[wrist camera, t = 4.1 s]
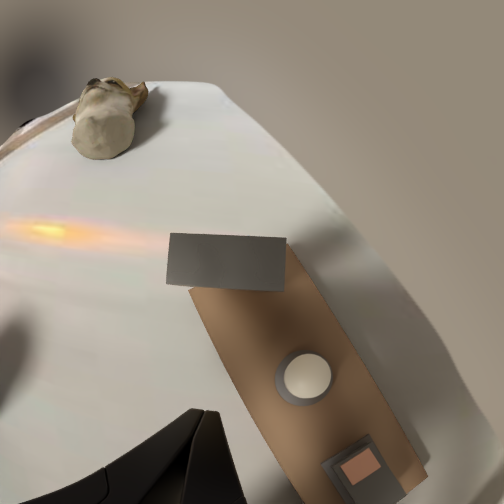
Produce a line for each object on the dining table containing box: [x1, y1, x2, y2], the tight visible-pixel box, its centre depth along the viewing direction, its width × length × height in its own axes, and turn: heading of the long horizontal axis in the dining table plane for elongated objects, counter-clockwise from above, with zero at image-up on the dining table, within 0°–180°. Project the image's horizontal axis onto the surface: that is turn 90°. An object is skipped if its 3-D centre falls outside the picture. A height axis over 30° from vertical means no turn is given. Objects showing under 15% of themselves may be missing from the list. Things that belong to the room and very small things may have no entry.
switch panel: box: [188, 243, 428, 504], centre depth 17 cm, size 8×21×2 cm, turn 27°
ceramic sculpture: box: [71, 77, 148, 160], centre depth 29 cm, size 11×9×15 cm
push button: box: [284, 354, 331, 398], centre depth 16 cm, size 3×3×1 cm
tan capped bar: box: [166, 233, 286, 292], centre depth 15 cm, size 2×4×12 cm, turn 87°
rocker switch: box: [330, 442, 407, 504], centre depth 13 cm, size 3×5×1 cm, turn 27°
